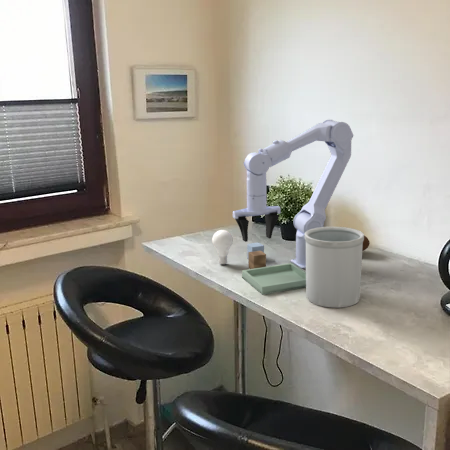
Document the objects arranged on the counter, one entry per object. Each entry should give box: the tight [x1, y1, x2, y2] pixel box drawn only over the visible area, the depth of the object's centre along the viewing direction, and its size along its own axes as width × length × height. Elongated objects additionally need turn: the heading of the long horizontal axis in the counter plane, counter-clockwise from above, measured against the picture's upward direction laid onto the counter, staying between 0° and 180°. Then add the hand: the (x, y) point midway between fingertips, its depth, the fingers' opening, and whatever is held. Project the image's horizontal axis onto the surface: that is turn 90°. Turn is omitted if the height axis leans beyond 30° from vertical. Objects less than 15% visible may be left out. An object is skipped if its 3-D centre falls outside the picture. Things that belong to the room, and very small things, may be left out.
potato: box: [362, 234, 371, 252], centre depth 180 cm, size 7×10×8 cm
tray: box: [241, 262, 306, 295], centre depth 159 cm, size 16×14×2 cm
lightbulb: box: [211, 229, 234, 266], centre depth 173 cm, size 6×6×11 cm
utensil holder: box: [305, 226, 365, 309], centre depth 145 cm, size 15×15×18 cm
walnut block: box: [247, 251, 267, 269], centre depth 169 cm, size 4×4×5 cm
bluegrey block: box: [246, 242, 265, 260], centre depth 177 cm, size 4×4×5 cm
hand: (257, 239), depth 167 cm, fingers open, 7 cm apart
